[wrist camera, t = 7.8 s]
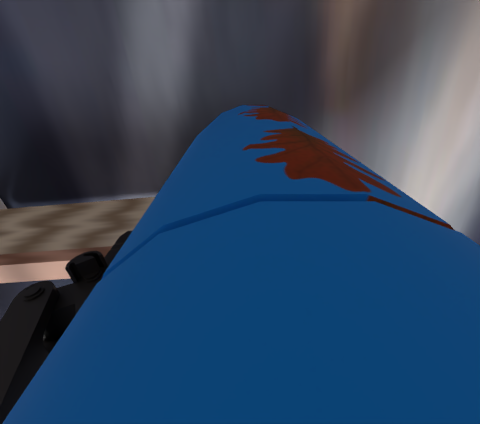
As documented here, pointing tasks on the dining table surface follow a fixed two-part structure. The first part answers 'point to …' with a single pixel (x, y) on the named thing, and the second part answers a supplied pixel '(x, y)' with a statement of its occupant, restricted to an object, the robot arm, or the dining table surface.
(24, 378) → the robot arm
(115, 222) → the gate
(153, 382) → the thermos
